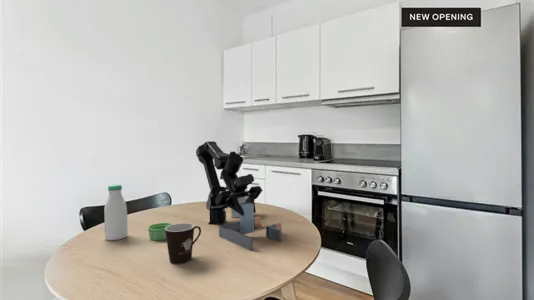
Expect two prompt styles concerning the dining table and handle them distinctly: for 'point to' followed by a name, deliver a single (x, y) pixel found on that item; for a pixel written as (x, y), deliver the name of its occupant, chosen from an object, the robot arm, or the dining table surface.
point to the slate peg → (247, 218)
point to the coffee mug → (180, 242)
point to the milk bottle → (115, 214)
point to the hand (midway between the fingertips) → (249, 213)
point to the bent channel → (245, 241)
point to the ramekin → (158, 231)
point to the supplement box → (240, 200)
